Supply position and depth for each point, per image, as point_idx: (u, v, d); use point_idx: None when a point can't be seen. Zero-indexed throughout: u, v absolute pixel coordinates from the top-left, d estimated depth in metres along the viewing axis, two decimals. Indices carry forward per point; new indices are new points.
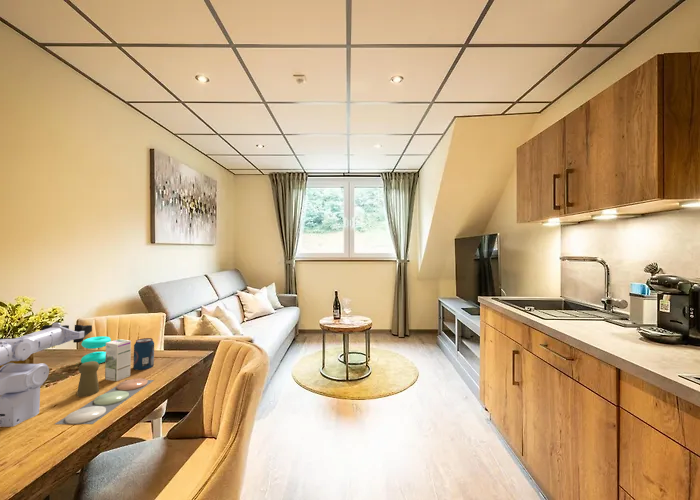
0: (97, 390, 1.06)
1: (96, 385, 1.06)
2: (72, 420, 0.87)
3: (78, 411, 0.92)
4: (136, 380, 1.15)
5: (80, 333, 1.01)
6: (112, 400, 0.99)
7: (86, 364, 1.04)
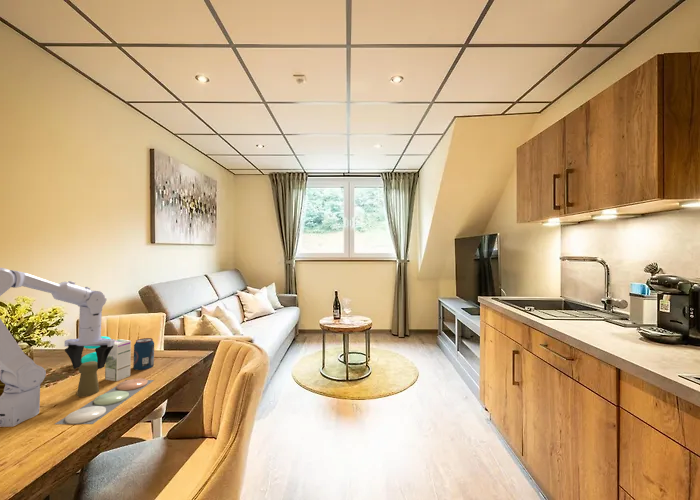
0: (97, 390, 1.06)
1: (96, 385, 1.06)
2: (72, 420, 0.87)
3: (78, 411, 0.92)
4: (136, 380, 1.15)
5: (113, 340, 1.07)
6: (112, 400, 0.99)
7: (86, 364, 1.04)
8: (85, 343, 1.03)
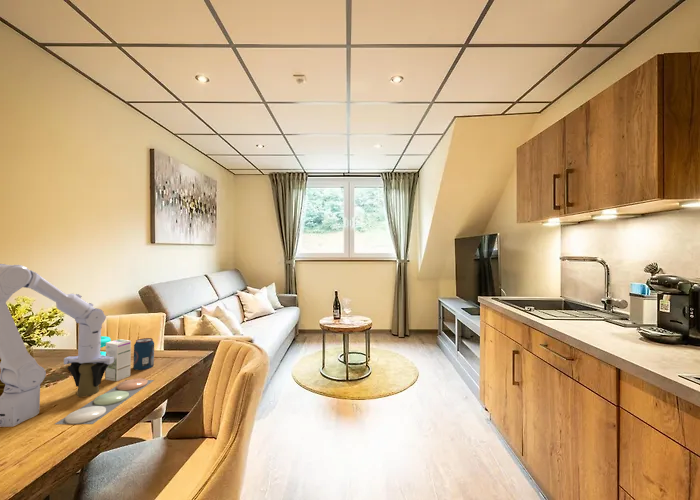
0: (97, 390, 1.06)
1: None
2: (72, 420, 0.87)
3: (78, 411, 0.92)
4: (136, 380, 1.15)
5: (113, 358, 1.06)
6: (112, 400, 0.99)
7: (86, 364, 1.04)
8: (84, 361, 1.03)
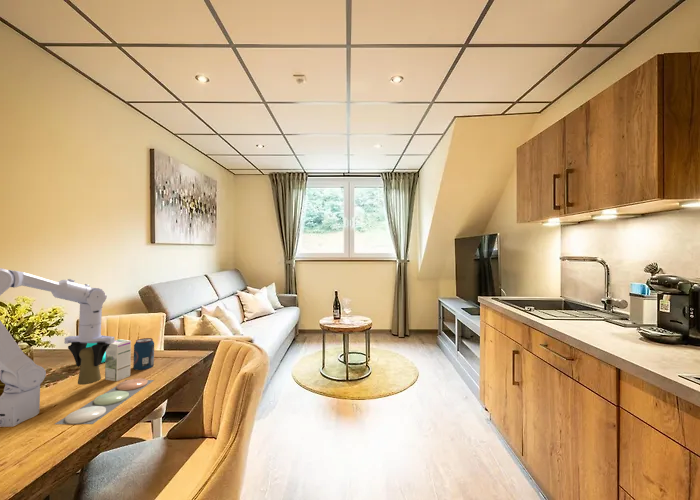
0: (99, 375, 1.06)
1: (97, 370, 1.06)
2: (72, 420, 0.87)
3: (78, 411, 0.92)
4: (136, 380, 1.15)
5: (113, 338, 1.07)
6: (112, 400, 0.99)
7: (87, 349, 1.04)
8: (85, 340, 1.03)
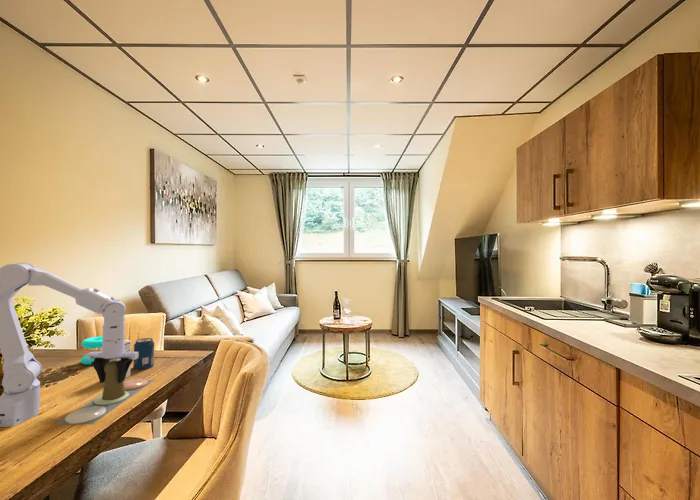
0: (123, 389, 1.03)
1: (122, 384, 1.02)
2: (72, 420, 0.87)
3: (78, 411, 0.92)
4: (136, 380, 1.15)
5: (137, 353, 1.03)
6: (112, 400, 0.99)
7: (112, 363, 1.01)
8: (109, 356, 0.99)
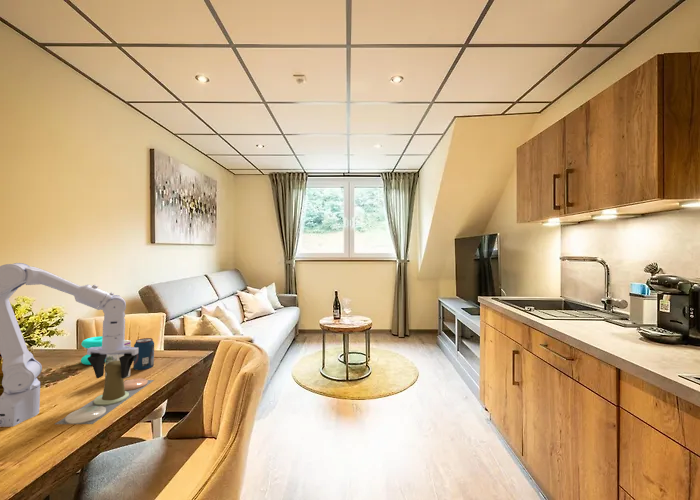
0: (123, 390, 1.03)
1: (122, 385, 1.02)
2: (72, 420, 0.87)
3: (78, 411, 0.92)
4: (136, 380, 1.15)
5: (137, 349, 1.03)
6: (112, 400, 0.99)
7: (113, 363, 1.01)
8: (109, 352, 0.99)
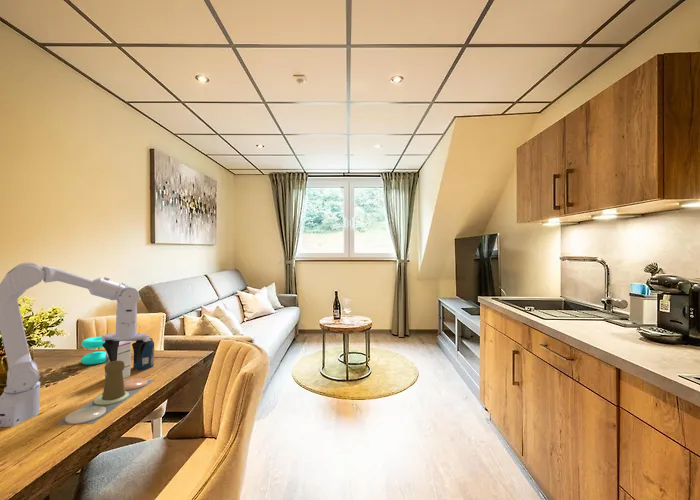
0: (123, 390, 1.03)
1: (122, 385, 1.02)
2: (72, 420, 0.87)
3: (78, 411, 0.92)
4: (136, 380, 1.15)
5: (149, 336, 1.09)
6: (112, 400, 0.99)
7: (113, 363, 1.01)
8: (122, 338, 1.05)
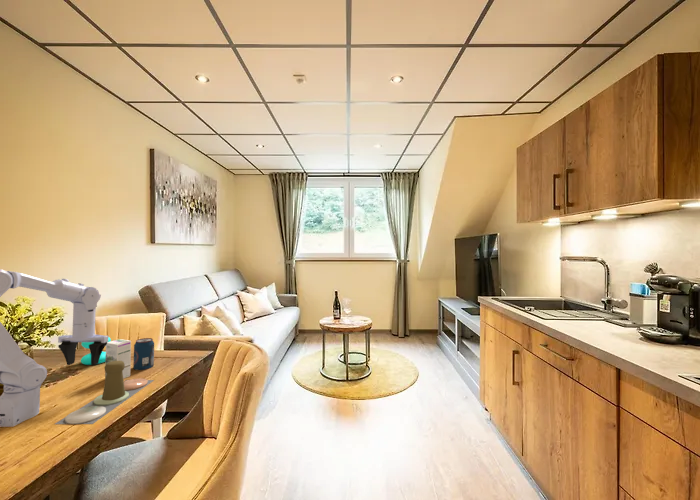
0: (123, 390, 1.03)
1: (122, 385, 1.02)
2: (72, 420, 0.87)
3: (78, 411, 0.92)
4: (136, 380, 1.15)
5: (107, 337, 1.06)
6: (112, 400, 0.99)
7: (113, 363, 1.01)
8: (79, 339, 1.03)
